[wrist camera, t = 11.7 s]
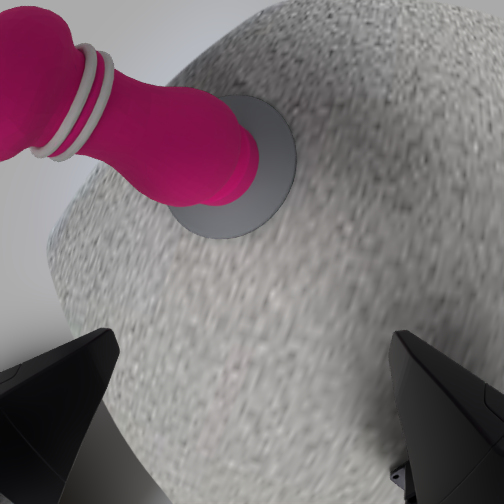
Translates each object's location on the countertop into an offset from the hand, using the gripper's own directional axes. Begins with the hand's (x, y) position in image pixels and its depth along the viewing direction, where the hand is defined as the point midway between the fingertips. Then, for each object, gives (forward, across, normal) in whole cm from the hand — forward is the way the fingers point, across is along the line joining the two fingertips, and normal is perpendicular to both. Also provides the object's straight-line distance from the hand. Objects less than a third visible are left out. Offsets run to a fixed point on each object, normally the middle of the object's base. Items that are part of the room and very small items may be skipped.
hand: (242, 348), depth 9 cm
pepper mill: (+14, +4, -5) cm, 16 cm away
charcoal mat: (+15, +3, -4) cm, 16 cm away
